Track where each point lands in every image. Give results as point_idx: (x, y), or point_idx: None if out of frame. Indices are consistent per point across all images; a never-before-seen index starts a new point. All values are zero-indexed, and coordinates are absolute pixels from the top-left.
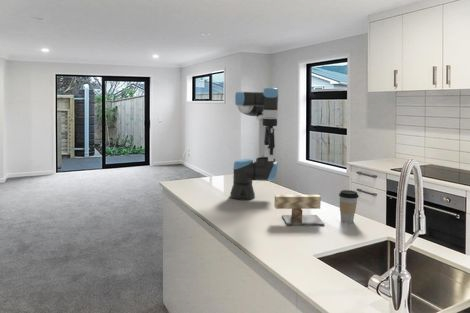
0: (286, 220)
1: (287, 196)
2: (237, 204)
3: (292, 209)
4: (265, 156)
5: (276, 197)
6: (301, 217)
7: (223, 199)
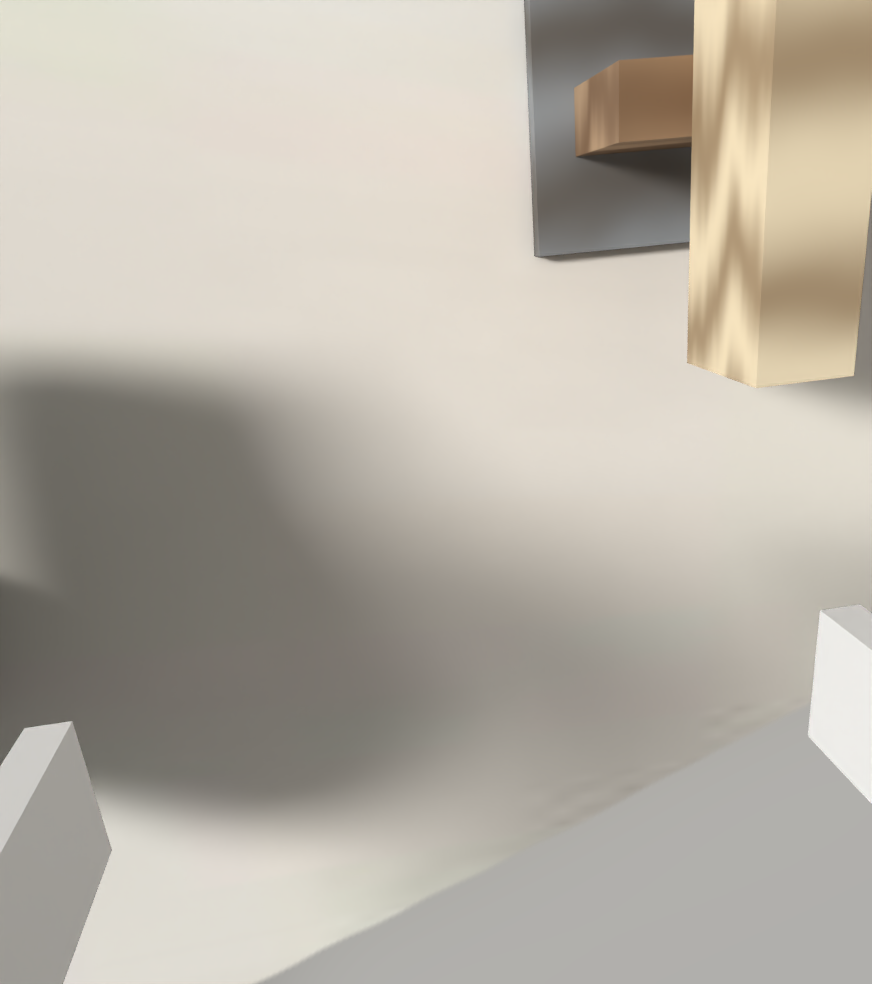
0: None
1: (857, 224)
2: (165, 672)
3: (637, 144)
4: (98, 840)
5: (846, 370)
6: None
7: None
